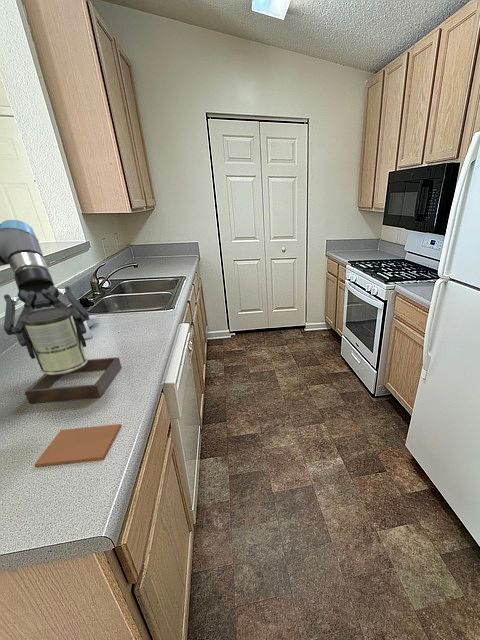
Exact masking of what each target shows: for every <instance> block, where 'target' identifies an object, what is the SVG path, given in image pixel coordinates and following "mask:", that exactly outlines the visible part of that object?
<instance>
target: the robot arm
mask: <svg viewBox="0 0 480 640" xmlns="http://www.w3.org/2000/svg"><path fill="white" fill-rule="evenodd" d="M8 265H9V267H10V270H11V272H12V273H11V274H12V275H13V277H14V281H15V284H16V287H17V290H18V293H17V294H14V295H10V294H4V295H3V299H4V301H5V311H4V312H5V313H4V323H3V330H4V332H5V333H6V335H8V336H12V335H14V336H16V338H17V342H18V344H19V345H20V346H21V347H26V349H27V352H28V355H29V357H30V359H32V360H34V359H37V358H36V356H35V353H34V351H33V348H32V346H31V344H30V341H29V339H28V337H27V334H26V332H25V329H24V327H23V325H22V323H21V321H20V317H21V316H23V315H25V314H27V313H30V312H33V311H36V310H41V309H42V308H43V309H44V308H52V307H53V308H69V309H71V311H72V316H73V319H74V322H75V325H76V328H77V331H78V334H79V337H80V340H81V343H82V346H83V348H85V347H86V348H87V343H86V339H84V337H83V334H85V333H86V328H85V325H84V321H86V320H89V315H90V314H89V312H88V311H87V310H86V309H85V307H84V306H83V304H82V303H81V302H80V301H79V300H78V299H77V298H76V297H75V295H74V294H73V293H72V290H71V287H70V286H69V285H66V286H65V287H64V288H57V287H56V286H55V283H54V281H53V278H52V275H51V273H50V270H49V267H48V264H47V262H46V260H45V257H44V255H43V251H42V248H41V246H40V243H39V239H38V238H37V236H36V234H35V232H34V229H33V227H32V226H31V225H29V224H28V223H27V222H24V221H22V220H18V219H6V220H3V221H2V222H1V223H0V267H3V266H8ZM59 295H61V296H62V297H64V298H66V299H67V300H68V302H69V303H70V304H71V305H72V307H73V308H74V309H75V310H76V311H77V312H76V311H74V310H73V309H72V308H71V307H69V306H68V305H66V304H65V303H64V302H62V301H61V300H60V299H59ZM20 301H21V302H22V303H23V308H22V311H21V313H20V314H19V317H18V320H17V322H16V324H15V319H16V306H17V305H18V303H19V302H20Z"/></svg>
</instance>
